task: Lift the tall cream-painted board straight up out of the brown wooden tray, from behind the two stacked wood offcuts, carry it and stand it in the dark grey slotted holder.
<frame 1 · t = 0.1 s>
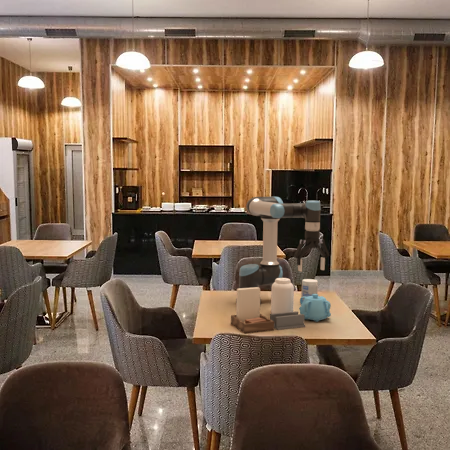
hand: (311, 270, 274), 28 cm above the table, tool pointing down, fingers open, 13 cm apart
slot holder: (286, 325, 270), on the table
can: (282, 314, 294), on the table
supplement tub: (309, 304, 316), on the table
tall board: (248, 322, 272), point 1 cm above the table, touching brown wooden tray
oak offcut: (254, 326, 264), point 1 cm above the table, touching cherry offcut, brown wooden tray
decorative pot: (314, 319, 284), on the table
cherry offcut: (255, 323, 264), point 3 cm above the table, touching oak offcut
brown wooden tray: (252, 326, 267), on the table
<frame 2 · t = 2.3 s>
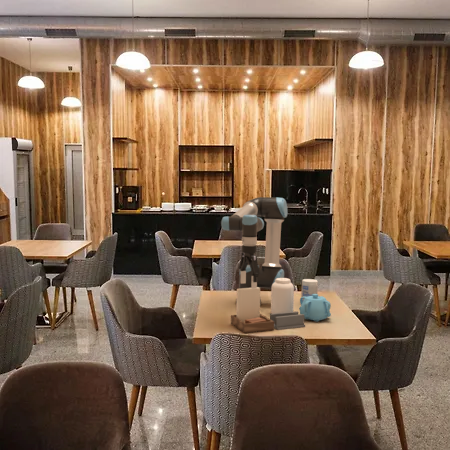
hand: (248, 285, 270), 20 cm above the table, tool pointing down, fingers open, 13 cm apart
nothing on the table moved.
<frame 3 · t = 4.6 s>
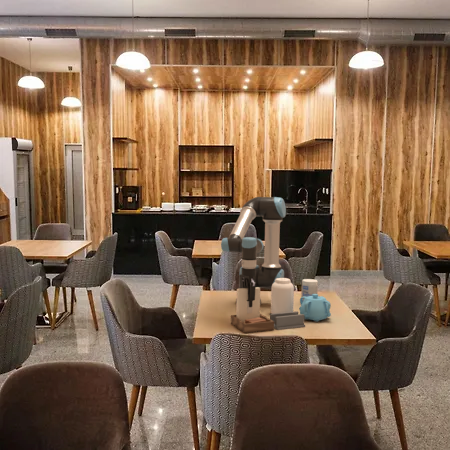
hand: (248, 312, 271), 7 cm above the table, tool pointing down, fingers closed on tall board, 3 cm apart
tall board: (248, 322, 272), point 1 cm above the table, touching gripper, brown wooden tray
everything else where it was.
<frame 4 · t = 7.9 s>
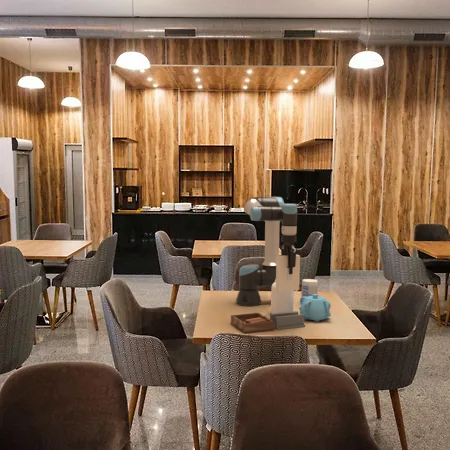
hand: (287, 279, 268), 24 cm above the table, tool pointing down, fingers closed on tall board, 3 cm apart
tall board: (287, 290, 268), point 19 cm above the table, touching gripper
everything else where it was.
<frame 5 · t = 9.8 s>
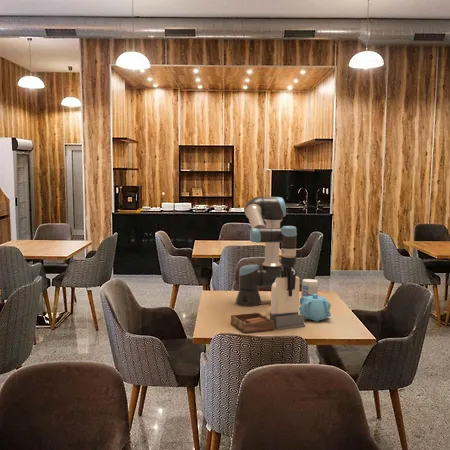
hand: (287, 301, 269), 13 cm above the table, tool pointing down, fingers closed on tall board, 3 cm apart
tall board: (287, 311, 269), point 7 cm above the table, touching gripper
everything else where it was.
when the fingers open (8 cm above the table, at t = 11.4 s): tall board drops 1 cm, resting on slot holder.
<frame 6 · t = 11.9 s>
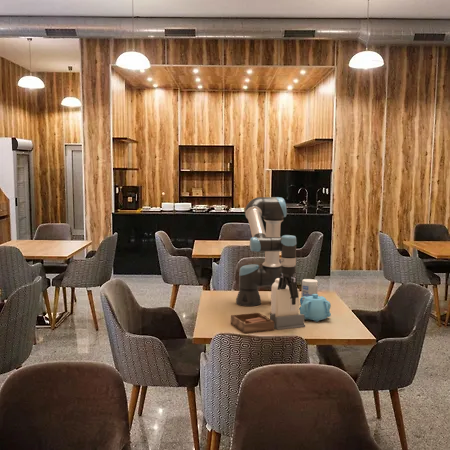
hand: (287, 307, 269), 9 cm above the table, tool pointing down, fingers open, 10 cm apart
tall board: (286, 323, 270), point 1 cm above the table, touching slot holder
everything else where it was.
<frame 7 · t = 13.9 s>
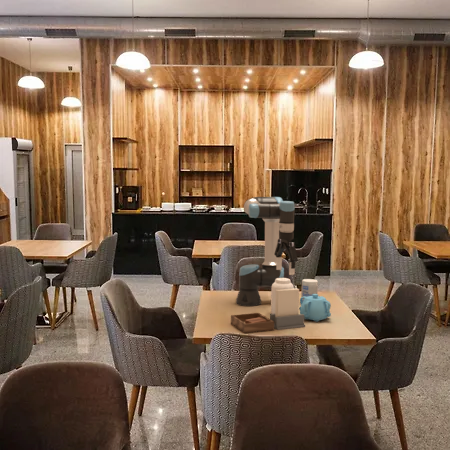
hand: (285, 272, 270), 28 cm above the table, tool pointing down, fingers open, 13 cm apart
nothing on the table moved.
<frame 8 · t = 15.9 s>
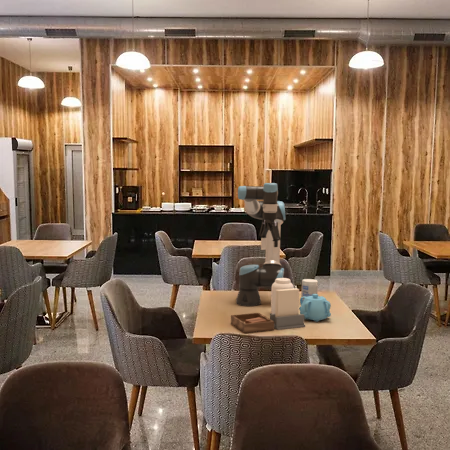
hand: (269, 251, 280), 37 cm above the table, tool pointing down, fingers open, 13 cm apart
nothing on the table moved.
at the end: tall board inside the target area on the slot holder (0.1 cm from its centre), point 1.0 cm above the slot holder's base; tall board tilted 0°; the gripper is holding nothing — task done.
